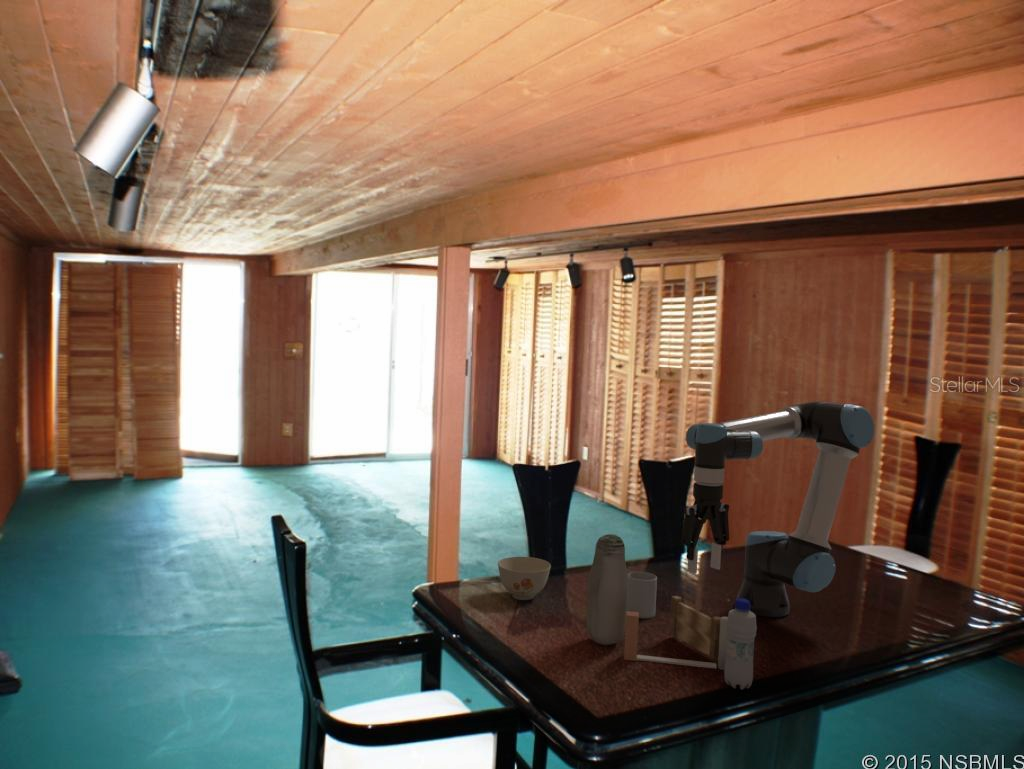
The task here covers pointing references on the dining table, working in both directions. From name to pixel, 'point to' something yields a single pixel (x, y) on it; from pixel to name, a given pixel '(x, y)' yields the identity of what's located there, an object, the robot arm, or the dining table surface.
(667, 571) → the dining table surface
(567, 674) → the dining table surface
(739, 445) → the robot arm
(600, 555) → the white tapered flask
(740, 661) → the bottle
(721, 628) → the fence
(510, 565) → the bowl
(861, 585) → the dining table surface
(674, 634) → the gate
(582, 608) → the dining table surface
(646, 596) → the mug
